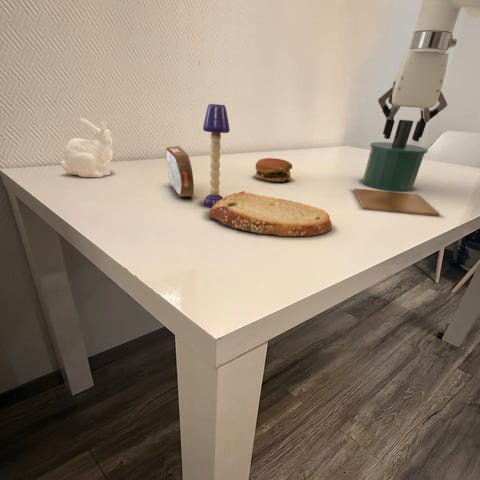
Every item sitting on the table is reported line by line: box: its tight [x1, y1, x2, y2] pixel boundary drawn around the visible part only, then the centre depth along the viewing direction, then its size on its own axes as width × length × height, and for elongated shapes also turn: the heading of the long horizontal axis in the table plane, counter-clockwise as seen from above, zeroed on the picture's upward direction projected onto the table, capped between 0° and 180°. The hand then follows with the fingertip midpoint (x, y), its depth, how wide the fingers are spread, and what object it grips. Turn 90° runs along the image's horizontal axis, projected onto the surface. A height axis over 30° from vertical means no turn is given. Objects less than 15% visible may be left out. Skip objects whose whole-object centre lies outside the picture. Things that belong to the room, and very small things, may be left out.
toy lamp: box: [202, 103, 231, 208], centre depth 61 cm, size 5×5×17 cm
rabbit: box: [60, 116, 114, 178], centre depth 75 cm, size 12×9×12 cm
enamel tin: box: [362, 147, 425, 192], centre depth 85 cm, size 12×12×8 cm
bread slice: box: [208, 190, 333, 237], centre depth 58 cm, size 18×18×4 cm
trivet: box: [353, 187, 440, 217], centre depth 74 cm, size 15×15×1 cm
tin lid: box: [369, 119, 429, 155], centre depth 81 cm, size 13×13×7 cm
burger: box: [255, 157, 293, 183], centre depth 85 cm, size 10×9×5 cm
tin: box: [165, 145, 195, 198], centre depth 69 cm, size 15×3×8 cm, turn 20°
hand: (400, 138), depth 81 cm, fingers open, 6 cm apart
